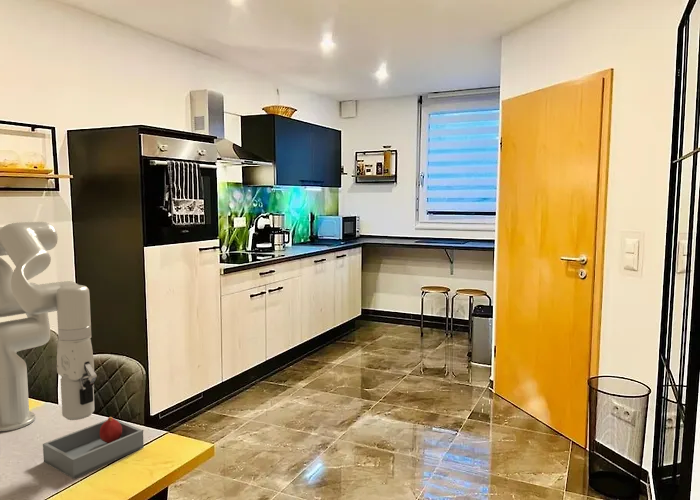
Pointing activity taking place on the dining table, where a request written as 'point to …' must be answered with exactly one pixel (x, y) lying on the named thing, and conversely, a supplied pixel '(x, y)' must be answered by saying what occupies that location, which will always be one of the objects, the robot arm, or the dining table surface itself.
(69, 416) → the can
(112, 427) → the onion
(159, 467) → the dining table surface
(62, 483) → the dining table surface
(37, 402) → the dining table surface
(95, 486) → the dining table surface
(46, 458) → the tote
